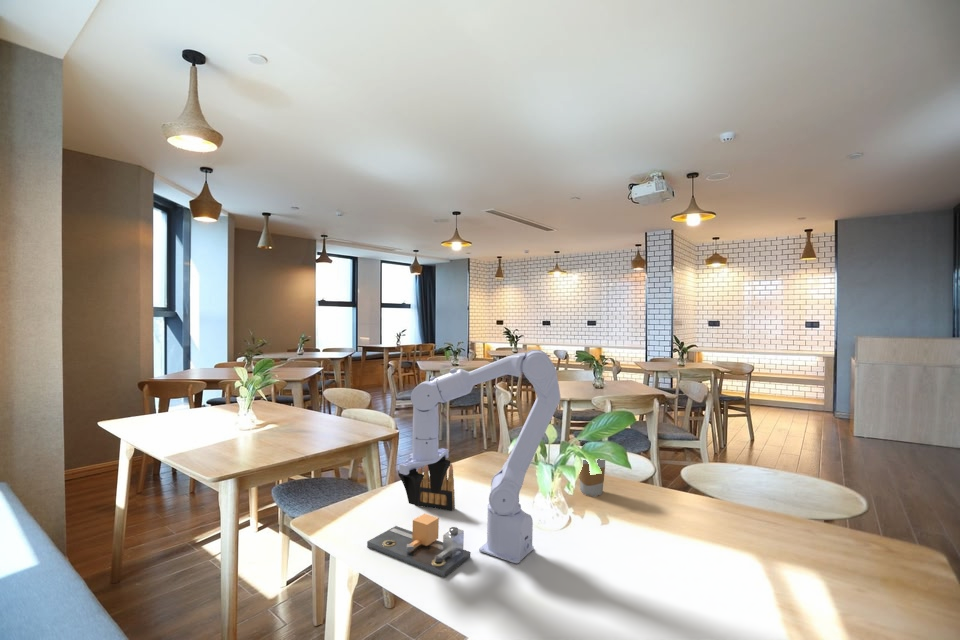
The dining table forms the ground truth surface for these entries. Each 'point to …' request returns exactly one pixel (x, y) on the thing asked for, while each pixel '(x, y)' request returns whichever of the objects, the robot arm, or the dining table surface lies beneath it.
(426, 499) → the ammunition clip
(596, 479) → the coffee cup
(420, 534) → the orange block with rod
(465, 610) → the dining table surface
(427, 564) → the bolt plate
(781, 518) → the dining table surface
